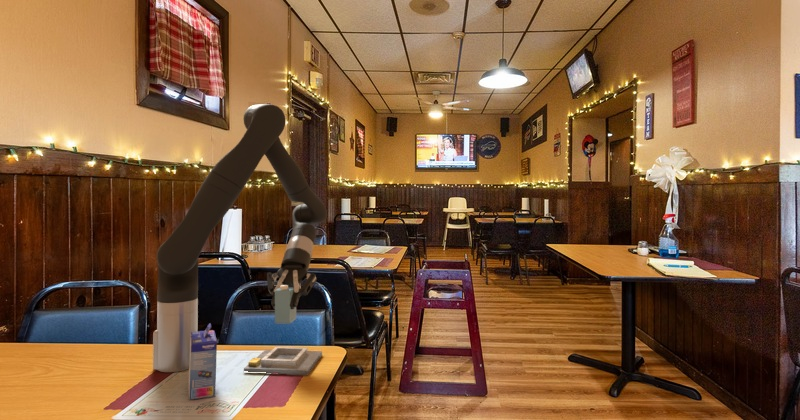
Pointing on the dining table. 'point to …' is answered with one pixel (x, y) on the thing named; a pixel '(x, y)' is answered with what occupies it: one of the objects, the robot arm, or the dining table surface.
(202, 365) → the ink cartridge box
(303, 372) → the plate
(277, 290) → the servo
